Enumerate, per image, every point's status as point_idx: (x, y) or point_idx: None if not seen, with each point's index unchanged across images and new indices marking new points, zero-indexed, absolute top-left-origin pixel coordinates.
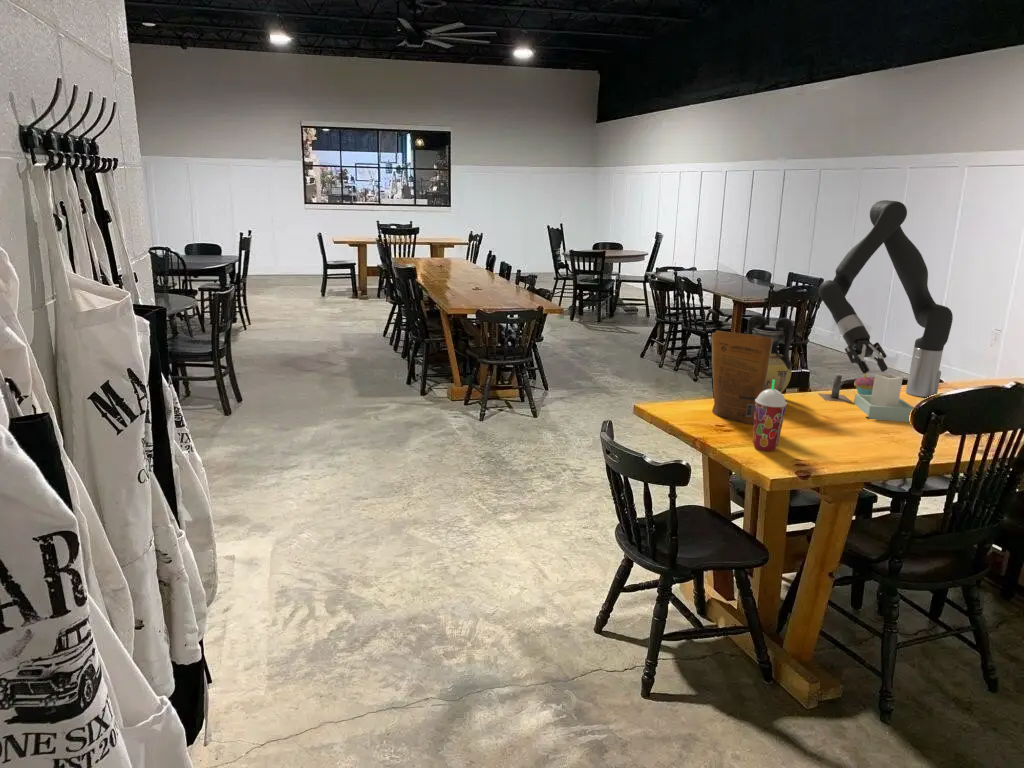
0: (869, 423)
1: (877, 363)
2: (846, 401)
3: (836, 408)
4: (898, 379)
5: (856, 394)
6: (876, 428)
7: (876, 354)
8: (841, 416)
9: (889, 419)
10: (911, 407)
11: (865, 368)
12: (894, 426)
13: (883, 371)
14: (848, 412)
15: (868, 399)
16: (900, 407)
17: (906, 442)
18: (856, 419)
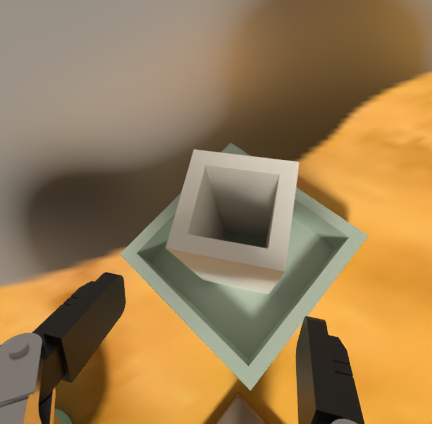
0: (384, 222)
1: (77, 371)
2: (252, 421)
3: None
4: (227, 156)
5: (251, 383)
6: (407, 183)
7: (32, 414)
8: (422, 324)
9: None
10: None
11: (330, 347)
12: (328, 170)
13: (120, 300)
14: (343, 340)
15: (216, 331)
16: None
17: (427, 88)
18: (392, 270)
